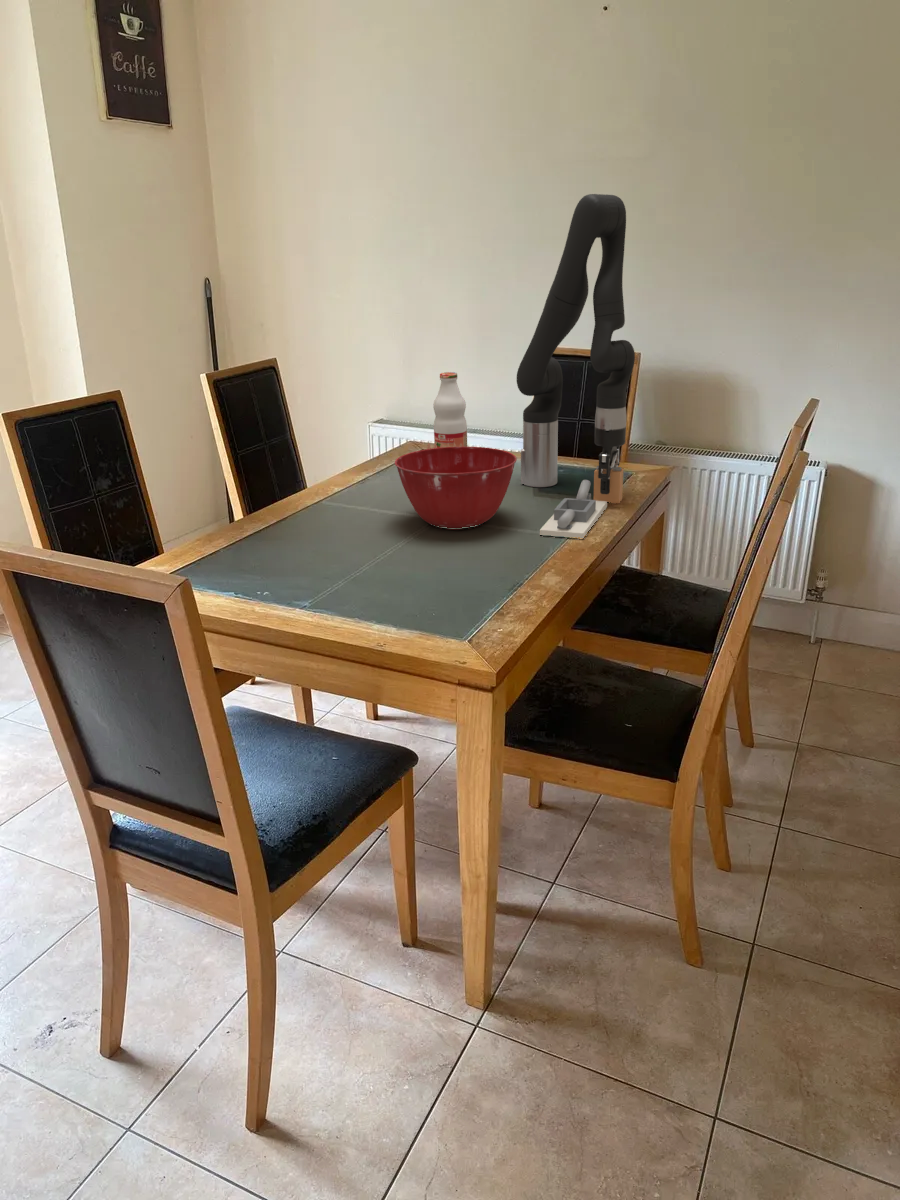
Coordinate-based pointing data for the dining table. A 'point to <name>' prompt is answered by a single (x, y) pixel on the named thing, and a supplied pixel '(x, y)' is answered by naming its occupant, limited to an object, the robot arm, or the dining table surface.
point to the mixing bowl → (456, 483)
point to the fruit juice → (449, 413)
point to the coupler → (615, 486)
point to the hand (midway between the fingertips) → (608, 489)
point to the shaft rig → (575, 514)
